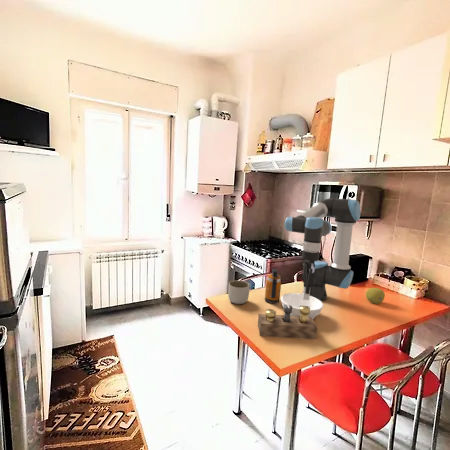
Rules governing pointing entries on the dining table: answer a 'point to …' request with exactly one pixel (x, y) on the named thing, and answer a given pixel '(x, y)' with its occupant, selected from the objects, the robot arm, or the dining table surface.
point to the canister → (273, 287)
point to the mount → (287, 327)
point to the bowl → (302, 304)
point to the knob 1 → (270, 314)
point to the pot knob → (287, 313)
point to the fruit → (375, 295)
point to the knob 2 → (304, 313)
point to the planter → (238, 291)
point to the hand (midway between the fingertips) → (305, 299)
